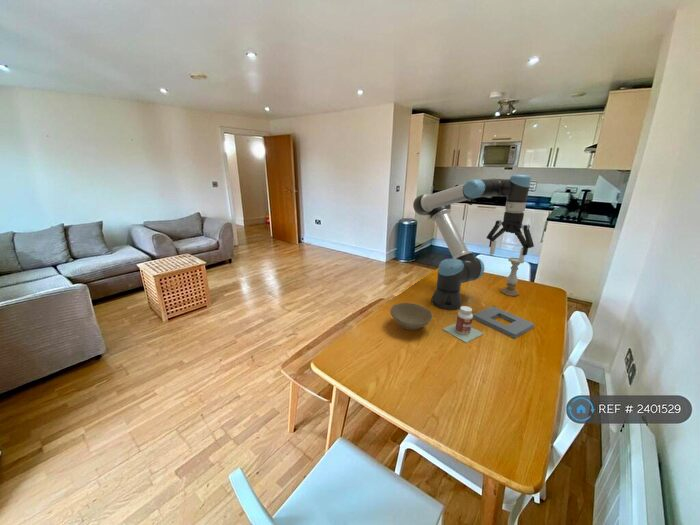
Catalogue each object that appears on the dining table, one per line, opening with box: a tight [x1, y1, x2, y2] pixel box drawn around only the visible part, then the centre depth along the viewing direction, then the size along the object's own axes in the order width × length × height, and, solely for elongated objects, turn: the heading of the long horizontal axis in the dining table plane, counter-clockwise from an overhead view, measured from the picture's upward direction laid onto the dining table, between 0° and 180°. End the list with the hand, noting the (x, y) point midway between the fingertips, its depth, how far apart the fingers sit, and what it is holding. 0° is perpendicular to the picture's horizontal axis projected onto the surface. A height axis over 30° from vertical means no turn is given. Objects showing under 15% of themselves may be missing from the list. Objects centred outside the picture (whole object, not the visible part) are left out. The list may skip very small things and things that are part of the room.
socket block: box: [472, 305, 536, 340], centre depth 129 cm, size 20×16×2 cm
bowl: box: [389, 302, 433, 331], centre depth 124 cm, size 18×18×8 cm
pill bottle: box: [455, 305, 474, 334], centre depth 120 cm, size 6×6×11 cm
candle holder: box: [500, 257, 525, 297], centre depth 156 cm, size 9×9×20 cm
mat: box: [442, 322, 484, 344], centre depth 122 cm, size 12×12×1 cm
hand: (505, 257), depth 128 cm, fingers open, 13 cm apart
